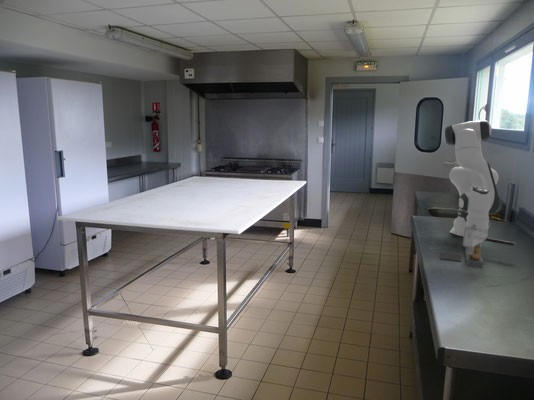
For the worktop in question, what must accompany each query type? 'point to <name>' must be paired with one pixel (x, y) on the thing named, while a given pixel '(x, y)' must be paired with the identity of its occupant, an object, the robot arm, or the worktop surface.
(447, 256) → the mat
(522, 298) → the worktop surface
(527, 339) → the worktop surface
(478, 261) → the body
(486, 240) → the lever
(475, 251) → the brown wooden block
